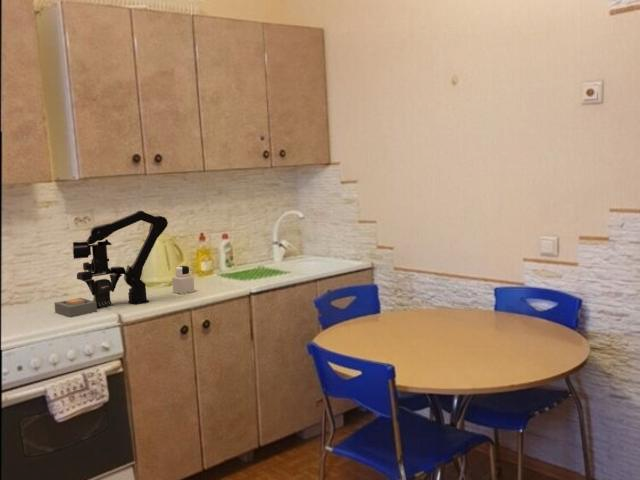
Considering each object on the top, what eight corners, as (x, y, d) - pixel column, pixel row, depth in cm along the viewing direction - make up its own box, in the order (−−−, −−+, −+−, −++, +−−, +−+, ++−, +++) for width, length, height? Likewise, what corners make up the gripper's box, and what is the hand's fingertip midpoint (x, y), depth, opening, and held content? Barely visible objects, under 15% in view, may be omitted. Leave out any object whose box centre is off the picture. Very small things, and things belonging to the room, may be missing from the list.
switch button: (78, 303, 250) (77, 298, 250) (84, 305, 246) (84, 300, 246) (66, 306, 246) (65, 300, 246) (72, 308, 242) (72, 302, 242)
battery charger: (99, 308, 251) (97, 281, 250) (94, 307, 253) (91, 280, 252) (114, 305, 257) (112, 278, 255) (108, 304, 259) (106, 277, 258)
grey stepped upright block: (186, 290, 284) (184, 264, 283) (194, 291, 279) (193, 265, 278) (172, 292, 279) (171, 266, 278) (181, 294, 274) (179, 268, 273)
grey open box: (81, 307, 255) (80, 297, 255) (97, 311, 246) (96, 302, 245) (55, 312, 247) (54, 302, 247) (70, 317, 238) (69, 307, 237)
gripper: (111, 252, 265) (114, 287, 267) (69, 258, 251) (72, 295, 253) (124, 254, 257) (127, 290, 259) (81, 260, 244) (84, 298, 246)
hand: (103, 293), depth 254 cm, fingers open, 8 cm apart
